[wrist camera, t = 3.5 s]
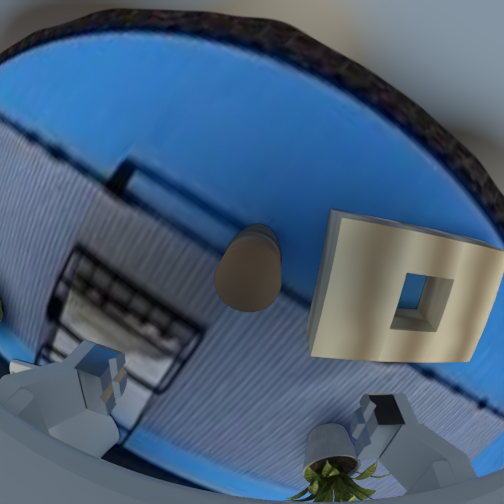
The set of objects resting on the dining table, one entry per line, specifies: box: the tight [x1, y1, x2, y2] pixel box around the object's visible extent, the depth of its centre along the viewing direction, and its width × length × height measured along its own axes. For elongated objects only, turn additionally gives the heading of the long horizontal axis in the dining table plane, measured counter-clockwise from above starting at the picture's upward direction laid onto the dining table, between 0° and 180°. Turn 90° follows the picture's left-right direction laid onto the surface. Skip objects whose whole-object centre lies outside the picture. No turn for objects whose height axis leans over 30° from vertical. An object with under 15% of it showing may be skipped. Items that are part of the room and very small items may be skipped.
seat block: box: [306, 209, 504, 362], centre depth 25 cm, size 18×12×5 cm, turn 83°
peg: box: [214, 224, 282, 312], centre depth 23 cm, size 4×4×10 cm
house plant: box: [285, 423, 391, 502], centre depth 26 cm, size 14×14×16 cm
